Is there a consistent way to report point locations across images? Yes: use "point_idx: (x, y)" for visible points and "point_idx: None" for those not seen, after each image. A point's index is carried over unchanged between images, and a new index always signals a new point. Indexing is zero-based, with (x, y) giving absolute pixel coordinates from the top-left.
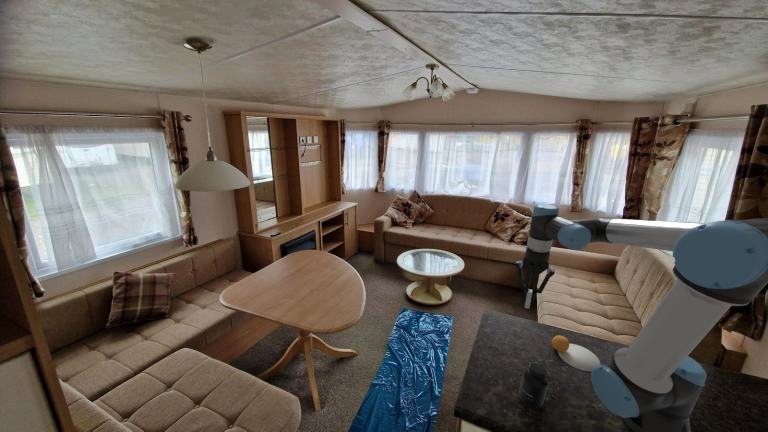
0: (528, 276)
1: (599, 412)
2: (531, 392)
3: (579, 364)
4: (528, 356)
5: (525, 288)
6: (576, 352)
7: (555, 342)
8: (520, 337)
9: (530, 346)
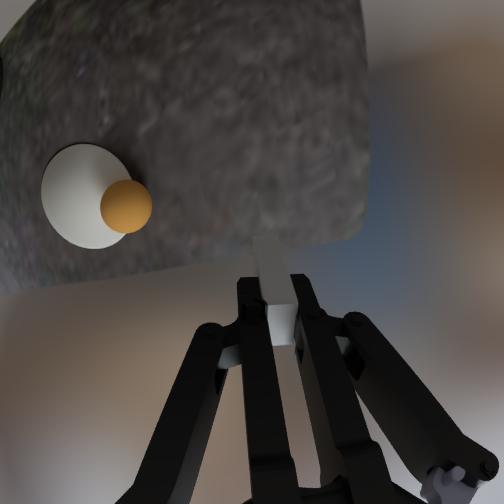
0: (351, 426)
1: (31, 33)
2: None
3: (76, 166)
4: (210, 99)
5: (323, 321)
6: (92, 213)
7: (135, 190)
8: (252, 182)
9: (213, 155)
